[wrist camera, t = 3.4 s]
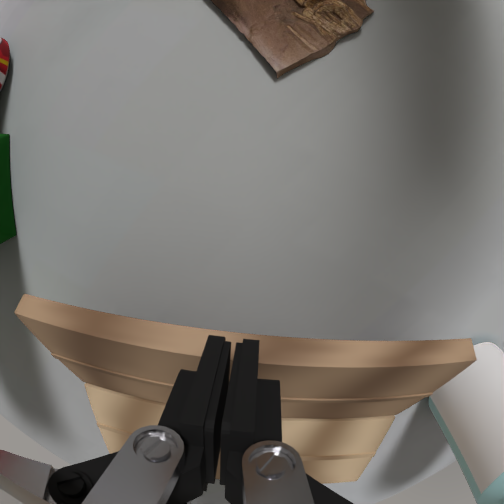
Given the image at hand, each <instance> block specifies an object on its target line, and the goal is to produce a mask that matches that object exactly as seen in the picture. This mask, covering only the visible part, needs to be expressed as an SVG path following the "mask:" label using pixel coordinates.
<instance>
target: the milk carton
mask: <svg viewBox="0 0 504 504" xmlns="http://www.w3.org/2000/svg"><path fill="white" fill-rule="evenodd" d="M14 236H16V228H15V221H14V213H13V205H12V194H11V181H10V159H9V134H0V244H1V243H3V242H5V241H6V240H8V239H10V238H12V237H14Z"/></svg>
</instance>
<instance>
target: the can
mask: <svg viewBox="0 0 504 504" xmlns="http://www.w3.org/2000/svg"><path fill="white" fill-rule="evenodd" d="M473 347H474V351H475V355H476V359H477V360H476V361H475V362H474V363H472V364H471V365H470V366H469V367H467V368H466V369H465V370H463V371H462V372H461V373H459V374H458V375H457V376H455V377H454V378H453V379H451V380H450V381H449V382H447V383H446V384H444V385H443V386H441V387H440V388H438V389H437V390H436V391H434V392H433V394H432V395H431V396H429V407H430V409H431V411H432V413H433V415H434V417H435V419H436V420H437V422H438V424H439V426H440V428H441V430H442V432H443V434H444V436H445V437H446V439H447V441H448V443H449V445H450V447H451V449H452V451H453V453H454V455H455V457H456V459H457V461H458V463H459V465H460V467H461V470H462V472H463V474H464V475H465V478H466V480H467V482H468V484H469V487H470V489H471V491H472V493H473V495H474V498H475V500H476V503H477V504H504V352H503V351H502V350H501V349H500V348H499V347H498V346H497V345H495V344H494V343H491V342H484V343H480V344H477V345H474V346H473Z"/></svg>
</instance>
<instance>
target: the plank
mask: <svg viewBox="0 0 504 504" xmlns="http://www.w3.org/2000/svg"><path fill="white" fill-rule="evenodd" d="M14 313H15V314H16V316H17V317H18V318H19V319H20V320H21V321H22V322H23V323H24V325H25V326H26V327H27V328H28V329H29V330H30V331H31V332H32V333H33V334H34V335H35V336H36V337H37V339H38V340H39V341H40V342H41V343H42V344H43V345H44V346H45V347H46V348H47V349H48V350H49V351H50V352H51V355H52V356H53V357H55V358H57V359H59V360H60V361H61V362H62V363H63V364H64V365H65V366H66V367H67V368H68V369H69V370H71V371H72V372H73V373H74V374H75V375H76V376H77V377H79V378H80V379H81V380H82V381H83V382H86V383H89V384H92V385H95V386H99V387H102V388H105V389H109V390H113V391H116V392H120V393H124V394H128V395H132V396H136V397H140V398H144V399H148V400H153V401H158V402H162V403H167V400H168V398H169V396H170V393H171V391H172V388H173V386H174V383H175V381H176V378H177V376H178V373H179V371H180V370H181V369H184V370H191V371H197V368H198V365H199V362H200V359H201V356H202V353H203V350H204V347H205V344H206V341H207V338H208V336H209V335H215V336H223V337H225V339H226V340H225V341H229V342H231V357H230V375H231V369H232V364H233V358H234V352H235V347H236V342H239V343H243V339H252V340H260V342H259V361H258V379H271V380H279V381H280V394H281V418H311V419H329V418H360V417H376V416H388V415H397V414H399V413H400V412H402V411H404V410H405V409H407V408H409V407H410V406H412V405H414V404H415V403H417V402H419V401H420V400H422V399H423V398H425V397H429V396H431V395H432V394H433V392H434V391H436V390H437V389H438V388H440V387H441V386H443V385H444V384H446V383H447V382H449V381H450V380H451V379H453V378H454V377H455V376H457V375H458V374H459V373H461V372H462V371H463V370H465V369H466V368H467V367H469V366H470V365H471V364H472V363H474V362H475V361H476V360H477V359H476V355H475V351H474V347H473V343H472V340H471V338H469V339H451V340H425V341H355V340H327V339H308V338H292V337H279V336H266V335H255V334H245V333H235V332H226V331H218V330H210V329H202V328H194V327H187V326H180V325H173V324H166V323H160V322H154V321H148V320H142V319H136V318H131V317H125V316H120V315H114V314H109V313H104V312H99V311H95V310H90V309H85V308H81V307H76V306H72V305H67V304H63V303H59V302H55V301H50V300H46V299H42V298H39V297H35V296H31V295H27V294H24V295H23V297H22V298H21V300H20V302H19V304H18V306H17V308H16V310H15V312H14ZM230 375H229V381H230Z"/></svg>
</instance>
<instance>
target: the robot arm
mask: <svg viewBox="0 0 504 504" xmlns="http://www.w3.org/2000/svg"><path fill="white" fill-rule="evenodd" d="M225 340H226V339H225V337H223V336H215V335H209V336H208V338H207V341H206V344H205V347H204V350H203V353H202V356H201V359H200V362H199V365H198V368H197V371H191V370H184V369H181V370H180V371H179V373H178V376H177V378H176V381H175V383H174V386H173V388H172V391H171V393H170V396H169V398H168V400H167V403H166V405H165V408H164V410H163V413H162V415H161V418H160V420H159V423H158V425H149V426H145V427H141V428H139V429H137V430H136V431H134V432H133V433H132V434H131V435H130V436H129V438H128V439H127V441H126V442H125V443H124V445H123V446H122V448H121V449H120V450H119V451H118V452H115V453H111V454H108V455H105V456H102V457H99V458H95V459H92V460H89V461H85V462H82V463H78V464H74V465H71V466H67V467H63V468H61V469H54V468H53V467H52V466H51V465H48V464H45V463H41V462H38V461H34V460H31V459H28V458H24V457H21V456H18V455H15V454H12V453H10V452H7V451H4V450H0V504H191V502H192V500H193V499H195V498H197V497H199V496H201V495H202V494H203V491H206V490H207V485H208V483H212V484H214V483H215V478H216V472H217V466H218V460H219V454H220V485H225V499H226V500H227V501H229V502H230V503H231V504H353V503H352V502H350V501H348V500H347V499H345V498H343V497H342V496H340V495H338V494H337V493H335V492H334V491H332V490H330V489H329V488H327V487H326V486H324V485H323V484H321V483H320V482H318V481H317V480H315V479H314V478H312V477H311V476H309V475H308V474H307V473H305V469H304V466H303V462H302V459H301V457H300V455H299V453H298V452H297V451H296V450H295V449H294V448H293V447H291V446H290V445H288V444H286V443H283V442H282V420H281V394H280V381H279V380H271V379H258V361H259V342H260V340H252V339H243V343H239V342H236V347H235V352H234V358H233V364H232V369H231V375H230V357H231V342H229V341H225ZM229 375H230V381H229ZM220 448H221V450H220Z"/></svg>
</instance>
